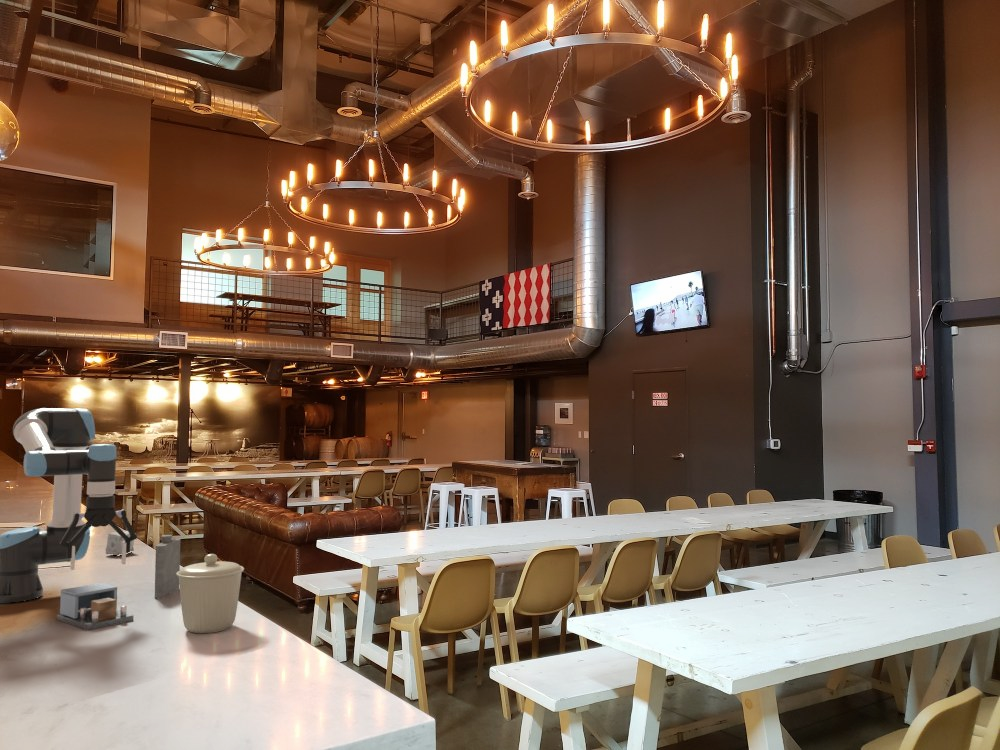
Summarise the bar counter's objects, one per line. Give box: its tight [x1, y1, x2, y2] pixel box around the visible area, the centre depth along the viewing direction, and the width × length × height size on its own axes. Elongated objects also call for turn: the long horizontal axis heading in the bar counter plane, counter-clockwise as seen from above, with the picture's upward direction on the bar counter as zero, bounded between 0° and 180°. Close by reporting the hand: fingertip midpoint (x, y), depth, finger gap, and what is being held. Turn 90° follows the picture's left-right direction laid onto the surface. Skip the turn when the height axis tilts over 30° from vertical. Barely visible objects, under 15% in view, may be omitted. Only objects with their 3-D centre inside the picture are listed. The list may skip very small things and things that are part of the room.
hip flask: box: [154, 534, 181, 599], centre depth 254 cm, size 16×4×20 cm, turn 3°
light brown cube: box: [91, 598, 116, 621], centre depth 215 cm, size 5×5×5 cm
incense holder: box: [105, 530, 137, 556], centre depth 331 cm, size 10×8×10 cm
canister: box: [176, 553, 245, 634], centre depth 208 cm, size 18×18×21 cm
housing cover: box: [59, 582, 118, 618], centre depth 221 cm, size 10×12×7 cm
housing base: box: [56, 605, 134, 631], centre depth 218 cm, size 20×13×4 cm, turn 53°
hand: (98, 566), depth 219 cm, fingers open, 13 cm apart
